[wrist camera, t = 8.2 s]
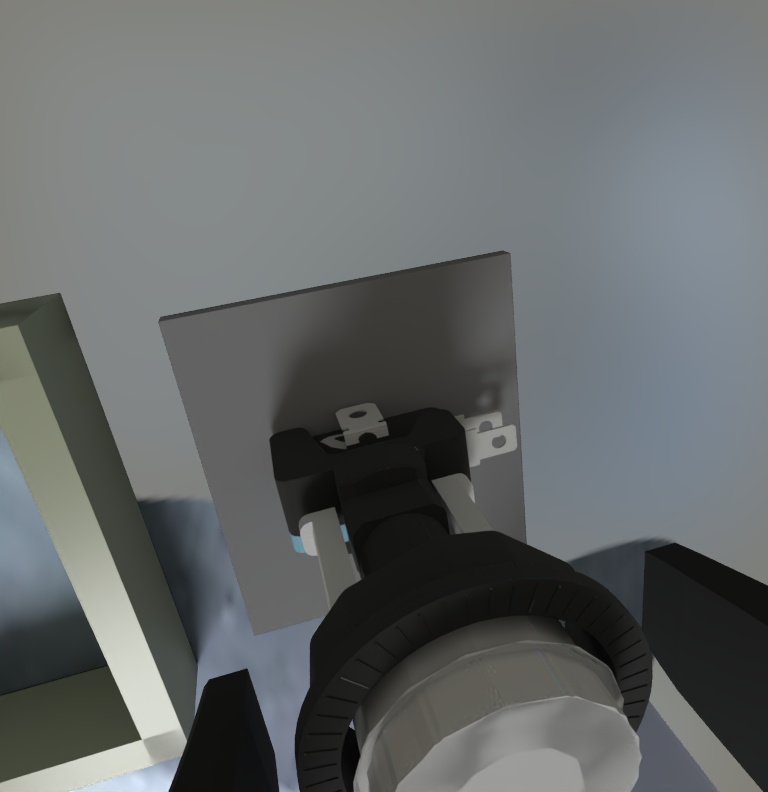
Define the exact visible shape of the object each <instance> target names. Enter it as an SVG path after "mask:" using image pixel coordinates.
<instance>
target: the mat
mask: <svg viewBox="0 0 768 792" xmlns="http://www.w3.org/2000/svg"><path fill="white" fill-rule="evenodd" d="M511 276H512V275H511V258H510V253H508V252H505V251H498V252H493V253H488V254H483V255H478V256H472V257H467V258H462V259H457V260H452V261H447V262H441V263H436V264H431V265H427V266H421V267H416V268H411V269H406V270H401V271H396V272H390V273H385V274H380V275H375V276H370V277H364V278H359V279H354V280H349V281H344V282H339V283H333V284H328V285H323V286H318V287H313V288H308V289H303V290H297V291H293V292H287V293H282V294H277V295H271V296H266V297H261V298H256V299H251V300H246V301H241V302H235V303H231V304H225V305H220V306H215V307H210V308H205V309H200V310H195V311H189V312H184V313H179V314H174V315H169V316H164V317H160V319H159V322H158V323H159V326H160V329H161V332H162V336H163V339H164V342H165V346H166V349H167V352H168V355H169V359H170V362H171V365H172V368H173V371H174V375H175V378H176V381H177V385H178V388H179V391H180V395H181V398H182V401H183V404H184V408H185V411H186V414H187V417H188V421H189V424H190V427H191V430H192V434H193V437H194V440H195V443H196V446H197V450H198V453H199V456H200V459H201V463H202V466H203V469H204V473H205V476H206V479H207V482H208V486H209V489H210V492H211V495H212V499H213V502H214V505H215V509H216V512H217V515H218V518H219V522H220V525H221V528H222V531H223V535H224V538H225V541H226V544H227V548H228V551H229V554H230V557H231V561H232V564H233V567H234V570H235V574H236V577H237V580H238V583H239V587H240V590H241V593H242V597H243V600H244V603H245V606H246V610H247V613H248V616H249V619H250V623H251V626H252V629H253V632H254V636H256V635H260V634H263V633H267V632H270V631H274V630H277V629H281V628H284V627H288V626H291V625H295V624H298V623H302V622H305V621H309V620H312V619H316V618H319V617H323V616H326V615H327V614H328V612H329V607H328V602H327V598H326V593H325V588H324V584H323V579H322V574H321V570H320V565H319V560H318V556H311V555H309V554H307V553H299V552H296V551H295V549H294V548H293V544H292V541H291V537H290V533H289V530H288V526H287V522H286V519H285V515H284V511H283V508H282V504H281V501H280V497H279V493H278V490H277V486H276V482H275V479H274V472H273V464H272V457H271V449H270V442H269V439H270V437H271V436H272V435H274V434H276V433H278V432H281V431H285V430H289V429H293V428H304V429H306V430H307V431H308V432H309V434H310V435H311V436H312V437H313V436H317V435H321V434H325V433H328V432H332V431H336V430H340V429H341V427H340V425H339V422H338V420H337V417H336V414H335V413H336V412H338V411H339V410H340V409H344V408H348V407H352V406H356V405H360V404H364V403H374V404H375V405H376V406H377V408H378V410H379V411H380V413H381V415H382V417H383V419H384V418H388V417H392V416H396V415H400V414H404V413H408V412H412V411H416V410H420V409H424V408H429V407H433V408H438V409H445V410H448V411H450V412H451V413H452V414H453V416H458V415H462V414H463V415H464V419H466V418H470V417H474V416H478V415H482V414H485V413H489V412H493V411H499V412H501V414H502V425H503V426H504V425H507V424H513V425H514V426H515V427H516V438H517V448H516V449H515V450H514V451H510V452H507V453H503V454H499V455H495V456H492V457H488V458H484V459H481V460H480V465H477V466H473V467H470V475H471V483H472V485H473V490H474V498H475V505H476V506H477V508H478V509H479V510H480V512H481V513H482V515H483V516H484V517H485V519H486V520H487V522H488V523H489V525H490V526H491V527H492V529H493V530H494V531H498V532H501V533H503V534H505V535H507V536H510V537H512V538H514V539H516V540H518V541H521V542H523V543H525V544H526V525H525V507H524V490H523V471H522V453H521V435H520V419H519V400H518V382H517V365H516V348H515V347H516V346H515V329H514V311H513V293H512V277H511ZM366 414H367V413H365V412H358V413H354V414H352V415H350V418H360V417H363V416H365V415H366ZM491 426H492V425H491V422H490V421H484V422H482V423H481V424H480V426H479V431H480V432H481V431H485V430H488V429H491ZM504 441H505V436H504V435H501V436H499V437H495V438H493V440H492V446H494V447H500V446H502V445H503V443H504ZM349 558H350V561H351V564H352V568H353V571H354V575H355V578H356V581H357V582H358V581H360V580H361V577H360V574H359V572H358V571H357V568H356V565H355V562H354V559H353V555H352V554H350V555H349Z"/></svg>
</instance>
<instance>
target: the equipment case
mask: <svg viewBox="0 0 768 792" xmlns="http://www.w3.org/2000/svg"><path fill="white" fill-rule="evenodd" d="M0 426H1V428H2V431H3V433H4V435H5V437H6V439H7V442H8V444H9V446H10V448H11V450H12V453H13V455H14V457H15V459H16V462H17V464H18V466H19V468H20V470H21V473H22V475H23V477H24V479H25V481H26V484H27V486H28V488H29V490H30V493H31V495H32V497H33V499H34V501H35V504H36V506H37V508H38V510H39V513H40V515H41V517H42V519H43V521H44V524H45V526H46V528H47V530H48V532H49V535H50V537H51V539H52V541H53V544H54V546H55V548H56V550H57V552H58V555H59V557H60V559H61V561H62V563H63V566H64V568H65V570H66V572H67V575H68V577H69V579H70V581H71V583H72V586H73V588H74V590H75V592H76V595H77V597H78V599H79V601H80V603H81V606H82V608H83V610H84V612H85V614H86V617H87V619H88V621H89V623H90V626H91V628H92V630H93V632H94V634H95V637H96V639H97V641H98V643H99V645H100V648H101V650H102V652H103V654H104V657H105V659H106V661H107V663H108V665H109V666H105V667H102V668H98V669H94V670H91V671H87V672H84V673H80V674H77V675H73V676H70V677H66V678H63V679H59V680H56V681H52V682H48V683H45V684H41V685H38V686H34V687H31V688H27V689H24V690H20V691H17V692H13V693H10V694H6V695H2V696H0V792H69V791H72V790H76V789H79V788H82V787H85V786H88V785H92V784H95V783H98V782H101V781H104V780H108V779H111V778H114V777H117V776H120V775H124V774H127V773H130V772H133V771H136V770H140V769H143V768H146V767H149V766H152V765H156V764H159V763H162V762H165V761H168V760H172V759H175V758H178V757H181V756H182V754H183V752H184V749H185V746H186V743H187V740H188V737H189V734H190V731H191V728H192V725H193V722H194V714H195V699H196V685H197V670H198V666H197V663H196V660H195V657H194V655H193V652H192V649H191V647H190V644H189V641H188V638H187V636H186V633H185V630H184V628H183V625H182V622H181V619H180V617H179V614H178V611H177V609H176V606H175V603H174V600H173V598H172V595H171V592H170V590H169V587H168V584H167V581H166V579H165V576H164V573H163V571H162V568H161V565H160V562H159V560H158V557H157V554H156V552H155V549H154V546H153V543H152V541H151V538H150V535H149V533H148V530H147V527H146V524H145V522H144V519H143V516H142V514H141V511H140V508H139V506H138V503H137V500H136V497H135V495H134V492H133V489H132V487H131V484H130V481H129V478H128V476H127V473H126V470H125V468H124V465H123V462H122V459H121V457H120V454H119V451H118V449H117V446H116V443H115V440H114V438H113V435H112V432H111V430H110V427H109V424H108V421H107V419H106V416H105V414H104V411H103V408H102V405H101V403H100V400H99V397H98V394H97V392H96V389H95V386H94V384H93V381H92V378H91V375H90V373H89V370H88V367H87V364H86V362H85V359H84V356H83V354H82V351H81V348H80V346H79V343H78V340H77V338H76V335H75V332H74V329H73V326H72V324H71V321H70V318H69V316H68V313H67V310H66V307H65V305H64V302H63V299H62V297H61V294H60V293H57V294H51V295H46V296H41V297H35V298H29V299H24V300H18V301H13V302H7V303H2V304H0Z"/></svg>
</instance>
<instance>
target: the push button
mask: <svg viewBox="0 0 768 792" xmlns="http://www.w3.org/2000/svg"><path fill="white" fill-rule="evenodd" d="M358 412H365V413H367V414H366V415H365V416H363V417H360V418H350V415H352V414H354V413H358ZM335 414H336V417H337V420H338V422H339V425H340V427H341V429H340V430H336V431H332V432H328V433H325V434H321V435H317V436H313V437H312V436H311V435H310V434H309V432H308V431H307V430H306V429H304V428H293V429H289V430H285V431H281V432H278V433H276V434H274V435H272V436H271V437H270V439H269V442H270V449H271V457H272V464H273V472H274V479H275V482H276V486H277V490H278V493H279V497H280V501H281V504H282V508H283V511H284V515H285V519H286V522H287V526H288V530H289V533H290V537H291V541H292V544H293V548H294V549H295V551H296V552H299V553H307V554H309V555H311V556H318V560H319V565H320V570H321V574H322V579H323V584H324V588H325V593H326V598H327V602H328V607H329V612H328V614H327V615H326V617H325V618H324V620H323V621H322V623H321V624H320V626H319V627H318V629H317V630H316V632H315V633H314V635H313V637H312V639H311V642H310V688H309V690H308V692H307V695H306V697H305V700H304V702H303V704H302V707H301V710H300V714H299V717H298V721H297V727H296V734H295V759H296V768H297V777H298V783H299V790H300V792H631V790H632V788H633V787H634V785H635V783H636V781H637V779H638V778H639V764H640V761H641V758H642V756H641V753H640V751H639V737H638V735H637V734H636V732H637V730H638V728H639V726H640V724H641V722H642V719H643V717H644V714H645V711H646V708H647V705H648V702H649V697H650V693H651V686H652V659H651V654H650V649H649V646H648V643H647V640H646V637H645V635H644V633H643V631H642V629H641V627H640V626H639V624H638V623H637V622H636V620H635V619H634V618H633V616H632V615H631V614H630V613H629V612H628V610H627V609H626V608H625V607H624V606H623V605H622V604H621V602H620V601H619V600H618V599H617V598H616V597H615V596H614V595H613V594H612V593H611V592H610V591H609V590H608V589H606V588H605V587H604V586H602V585H601V584H599V583H598V582H597V581H595V580H593V579H591V578H589V577H587V576H585V575H583V574H581V573H578V572H576V571H574V569H573V568H572V567H571V566H570V565H569V564H568V563H566V562H564V561H562V560H560V559H558V558H556V557H553V556H551V555H549V554H547V553H545V552H542V551H540V550H538V549H536V548H534V547H532V546H529V545H527V544H525V543H523V542H521V541H518V540H516V539H514V538H512V537H510V536H507V535H505V534H503V533H501V532H498V531H494V530H493V529H492V527H491V526H490V525H489V523H488V522H487V520H486V519H485V517H484V516H483V515H482V513H481V512H480V510H479V509H478V508H477V506H476V505H475V498H474V490H473V485H472V483H471V475H470V467H473V466H477V465H480V460H481V459H484V458H488V457H492V456H495V455H499V454H503V453H507V452H510V451H514V450H515V449H516V448H517V438H516V427H515V426H514V425H513V424H507V425H504V426H503V425H502V414H501V412H499V411H493V412H489V413H485V414H482V415H478V416H474V417H470V418H466V419H464V415H463V414H462V415H458V416H453V414H452V413H451V412H450V411H448V410H445V409H438V408H433V407H429V408H424V409H420V410H416V411H412V412H408V413H404V414H400V415H396V416H392V417H388V418H384V419H383V417H382V415H381V413H380V411H379V410H378V408H377V406H376V405H375V404H374V403H364V404H360V405H356V406H352V407H348V408H344V409H340V410H339V411H338V412H336V413H335ZM484 421H490V422H491V425H492V426H491V429H488V430H485V431H481V432H480V431H479V426H480V424H481V423H482V422H484ZM501 435H504V436H505V441H504V443H503V445H502V446H500V447H494V446H492V440H493V438H495V437H499V436H501ZM350 554H352V555H353V559H354V562H355V565H356V568H357V571H358V572H359V574H360V577H361V580H360V581H358V582H357V581H356V578H355V575H354V571H353V568H352V564H351V561H350V558H349V555H350ZM558 619H559V620H563V621H566V622H565V629H564V627H563V626H562V625H561V623H560V622H559V620H558ZM352 719H353V723H354V728H355V731H354V730H353V729H352V728H350V727H349V725H350V723H351V721H352Z"/></svg>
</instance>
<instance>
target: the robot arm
mask: <svg viewBox="0 0 768 792" xmlns="http://www.w3.org/2000/svg"><path fill="white" fill-rule="evenodd" d="M642 631H643V633H644V635H645V637H646V640H647V643H648V646H649V648H650V650H651V652H652V653H653V655H654V656H655V658H656V659H657V661H658V662H659V664H660V665H661V667H662V668H663V670H664V671H665V673H666V674H667V675H668V677H669V678H670V680H671V681H672V683H673V684H674V685H675V687H676V689H677V690H678V691H679V692H680V694H681V695H682V696H683V697H684V699H685V700H686V701H687V702H688V703H689V705H690V706H691V707H692V708H693V709H694V711H695V712H696V713H697V714H698V715H699V717H700V718H701V719H702V720H703V721H704V722H705V724H706V725H707V726H708V727H709V728H710V730H711V731H712V732H713V733H714V734H715V736H716V737H717V738H718V739H719V740H720V741H721V743H722V744H723V745H724V746H725V747H726V748H727V750H728V751H729V752H730V753H731V754H732V755H733V757H734V758H735V759H736V760H737V761H738V763H740V765H741V766H742V767H743V768H744V770H745V771H746V772H747V773H748V774H749V775H750V777H751V778H752V779H753V780H754V781H755V782H756V784H757V785H758V786H759V787H760V788H761V790H762V791H763V792H768V586H767V585H765V584H763V583H761V582H759V581H757V580H755V579H753V578H751V577H748V576H746V575H744V574H742V573H740V572H738V571H736V570H734V569H731V568H730V567H727V566H725V565H723V564H721V563H719V562H717V561H715V560H713V559H710V558H708V557H706V556H704V555H702V554H700V553H698V552H695V551H693V550H691V549H689V548H686V547H684V546H682V545H679V544H677V543H672V544H669V545H666V546H662V547H659V548H655V549H652V550H649V551H645V569H644V593H643V618H642ZM636 734H637V735H638V737H639V751H640V753H641V756H642V758H641V761H640V764H639V778H638V779H637V781H636V783H635V785H634V787H633V788H632V790H631V792H719V791H718V790H717V788H716V787H715V786H714V784H713V783H712V782H711V781H710V779H709V778H708V777H707V775H706V774H705V773H704V771H703V770H702V769H701V768H700V766H699V765H698V764H697V762H696V761H695V760H694V759H693V757H692V756H691V755H690V753H689V752H688V751H687V750H686V748H685V747H684V746H683V744H682V743H681V742H680V740H679V739H678V738H677V737H676V735H675V734H674V733H673V731H672V730H671V729H670V727H669V726H668V725H667V724H666V722H665V721H664V720H663V718H662V717H661V716H660V714H659V713H658V712H657V711H656V709H655V708H654V707H653V705H652V704H651V703H650V702H648V705H647V708H646V711H645V714H644V717H643V719H642V722H641V724H640V726H639V728H638V730H637V732H636ZM169 792H279V785H278V777H277V768H276V760H275V753H274V749H273V746H272V743H271V740H270V737H269V734H268V731H267V728H266V725H265V722H264V718H263V715H262V712H261V709H260V706H259V703H258V700H257V697H256V694H255V690H254V687H253V684H252V681H251V678H250V675H249V672H248V669H243V670H240V671H237V672H233V673H230V674H226V675H223V676H220V677H216V678H213V679H209V681H208V682H207V684H206V685H205V686H204V689H203V693H202V696H201V700H200V703H199V706H198V709H197V713H196V716H195V719H194V722H193V725H192V728H191V731H190V734H189V737H188V740H187V743H186V746H185V749H184V752H183V754H182V757H181V760H180V763H179V766H178V768H177V771H176V774H175V776H174V779H173V781H172V784H171V787H170V789H169Z"/></svg>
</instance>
